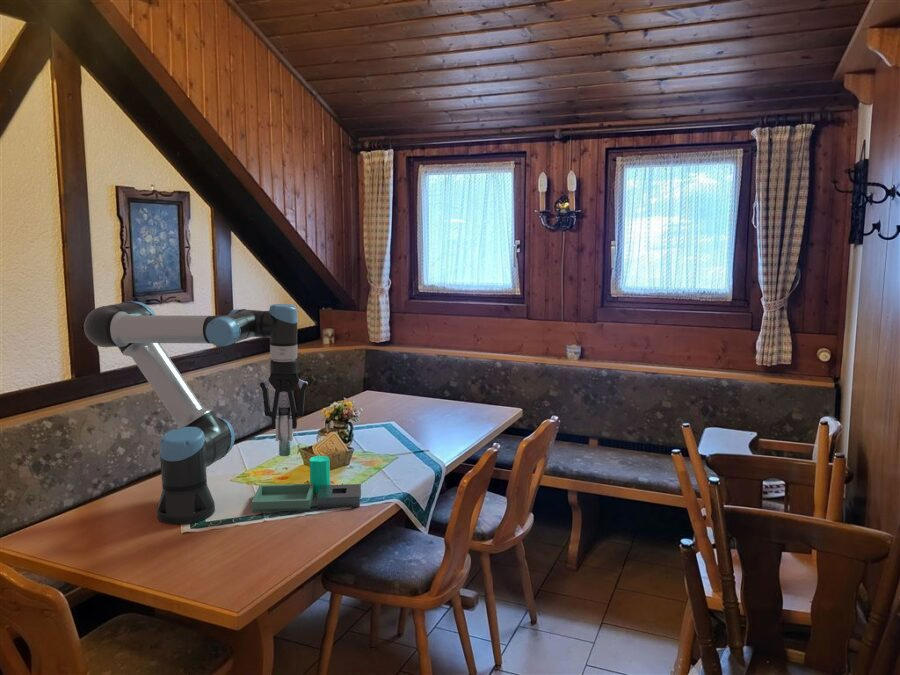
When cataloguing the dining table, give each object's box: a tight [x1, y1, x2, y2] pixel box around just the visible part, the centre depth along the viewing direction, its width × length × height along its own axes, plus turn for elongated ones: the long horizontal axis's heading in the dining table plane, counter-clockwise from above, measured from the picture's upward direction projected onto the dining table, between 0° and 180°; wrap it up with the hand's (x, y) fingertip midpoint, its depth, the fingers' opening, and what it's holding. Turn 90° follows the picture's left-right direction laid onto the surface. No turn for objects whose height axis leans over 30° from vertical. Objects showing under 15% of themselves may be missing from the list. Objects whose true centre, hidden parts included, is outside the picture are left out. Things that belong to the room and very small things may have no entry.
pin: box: [278, 405, 291, 457], centre depth 206 cm, size 3×3×14 cm
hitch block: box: [316, 483, 362, 509], centre depth 210 cm, size 12×10×3 cm
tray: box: [251, 483, 315, 513], centre depth 209 cm, size 16×13×3 cm
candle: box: [309, 453, 331, 495], centre depth 218 cm, size 6×6×12 cm
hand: (284, 439), depth 206 cm, fingers closed on pin, 3 cm apart
